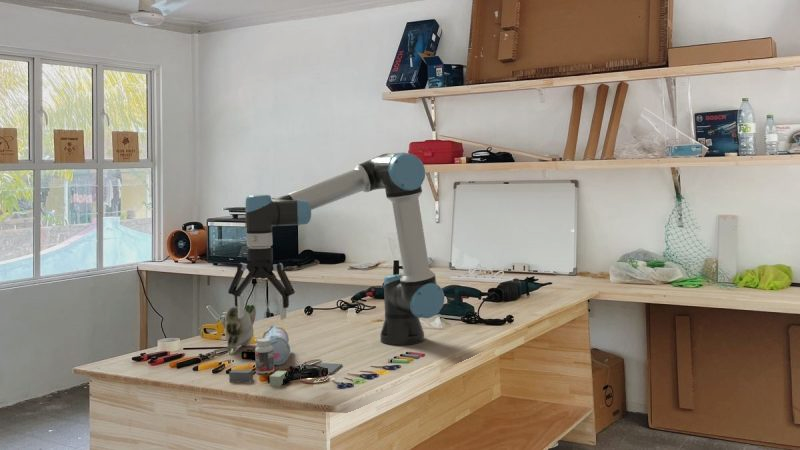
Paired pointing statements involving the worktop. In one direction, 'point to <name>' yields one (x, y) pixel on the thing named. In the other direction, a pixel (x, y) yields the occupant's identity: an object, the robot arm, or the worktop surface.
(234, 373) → the charcoal brick
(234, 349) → the toy
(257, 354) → the pill bottle
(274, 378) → the sage brick
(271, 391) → the worktop surface
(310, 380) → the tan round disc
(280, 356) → the pencil case
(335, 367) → the slate mat
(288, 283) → the robot arm
